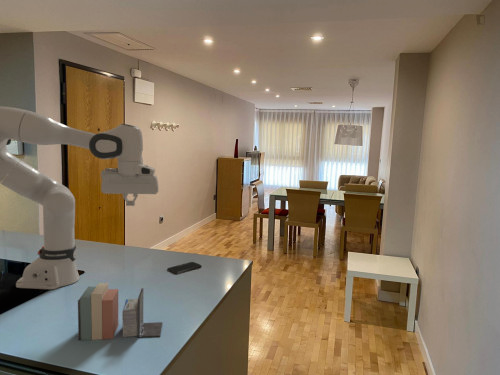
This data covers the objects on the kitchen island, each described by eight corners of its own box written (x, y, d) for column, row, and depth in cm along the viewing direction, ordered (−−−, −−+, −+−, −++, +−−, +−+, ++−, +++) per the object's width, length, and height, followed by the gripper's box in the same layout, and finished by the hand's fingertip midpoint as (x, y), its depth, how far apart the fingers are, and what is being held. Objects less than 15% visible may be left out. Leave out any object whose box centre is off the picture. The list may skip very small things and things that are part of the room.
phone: (202, 265, 169) (175, 272, 158) (202, 268, 169) (175, 275, 158) (192, 261, 174) (166, 268, 164) (192, 263, 175) (166, 270, 164)
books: (80, 340, 104) (80, 294, 102) (88, 326, 112) (88, 283, 110) (112, 338, 106) (112, 293, 104) (118, 325, 113) (118, 282, 112)
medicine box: (138, 336, 107) (138, 309, 106) (122, 337, 106) (122, 310, 105) (140, 323, 115) (140, 298, 114) (125, 324, 114) (125, 298, 113)
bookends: (78, 340, 104) (77, 301, 103) (86, 326, 112) (86, 289, 110) (160, 336, 108) (160, 298, 106) (162, 323, 116) (162, 287, 114)
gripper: (98, 168, 127) (99, 206, 129) (157, 170, 131) (157, 207, 132) (103, 167, 133) (103, 203, 135) (159, 168, 137) (158, 204, 138)
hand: (130, 205), depth 134 cm, fingers closed
